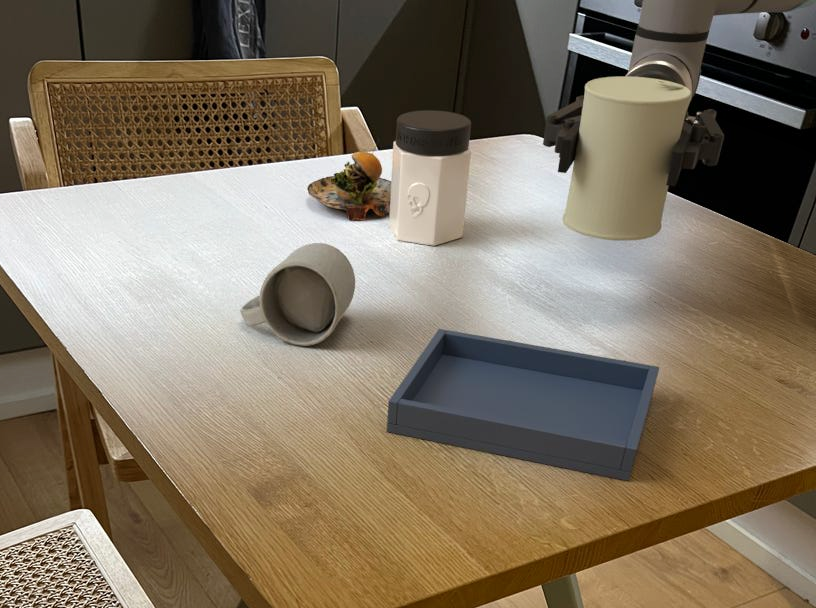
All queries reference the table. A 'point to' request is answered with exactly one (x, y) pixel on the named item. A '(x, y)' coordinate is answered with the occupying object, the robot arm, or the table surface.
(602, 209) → the can
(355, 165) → the burger
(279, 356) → the table surface
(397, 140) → the jar
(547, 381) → the tray
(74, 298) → the table surface
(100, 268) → the table surface
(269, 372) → the table surface
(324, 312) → the ceramic mug
